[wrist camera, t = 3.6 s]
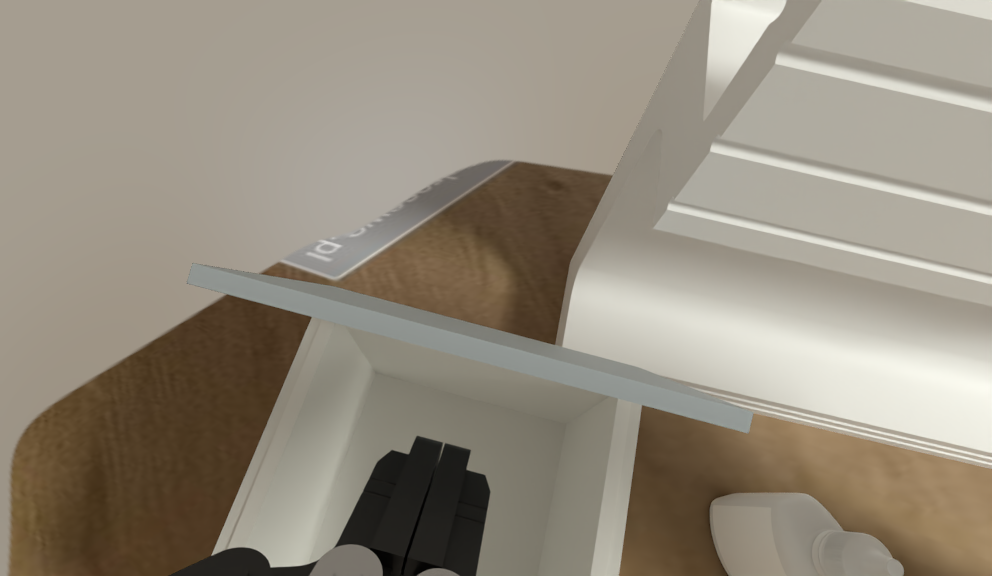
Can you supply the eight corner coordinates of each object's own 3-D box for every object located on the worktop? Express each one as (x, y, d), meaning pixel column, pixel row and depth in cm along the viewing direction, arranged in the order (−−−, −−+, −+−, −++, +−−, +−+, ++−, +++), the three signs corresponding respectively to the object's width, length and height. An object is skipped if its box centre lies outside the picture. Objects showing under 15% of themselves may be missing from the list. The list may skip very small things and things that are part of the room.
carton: (364, 362, 34) (319, 296, 23) (582, 420, 33) (645, 383, 22) (242, 694, 27) (91, 836, 16) (518, 774, 26) (565, 977, 15)
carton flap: (330, 297, 22) (333, 286, 22) (634, 378, 22) (637, 366, 22) (186, 283, 12) (192, 263, 12) (748, 433, 12) (753, 412, 12)
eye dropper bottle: (700, 583, 30) (841, 633, 19) (709, 485, 32) (841, 480, 21) (771, 604, 30) (955, 667, 19) (776, 505, 32) (944, 510, 21)
